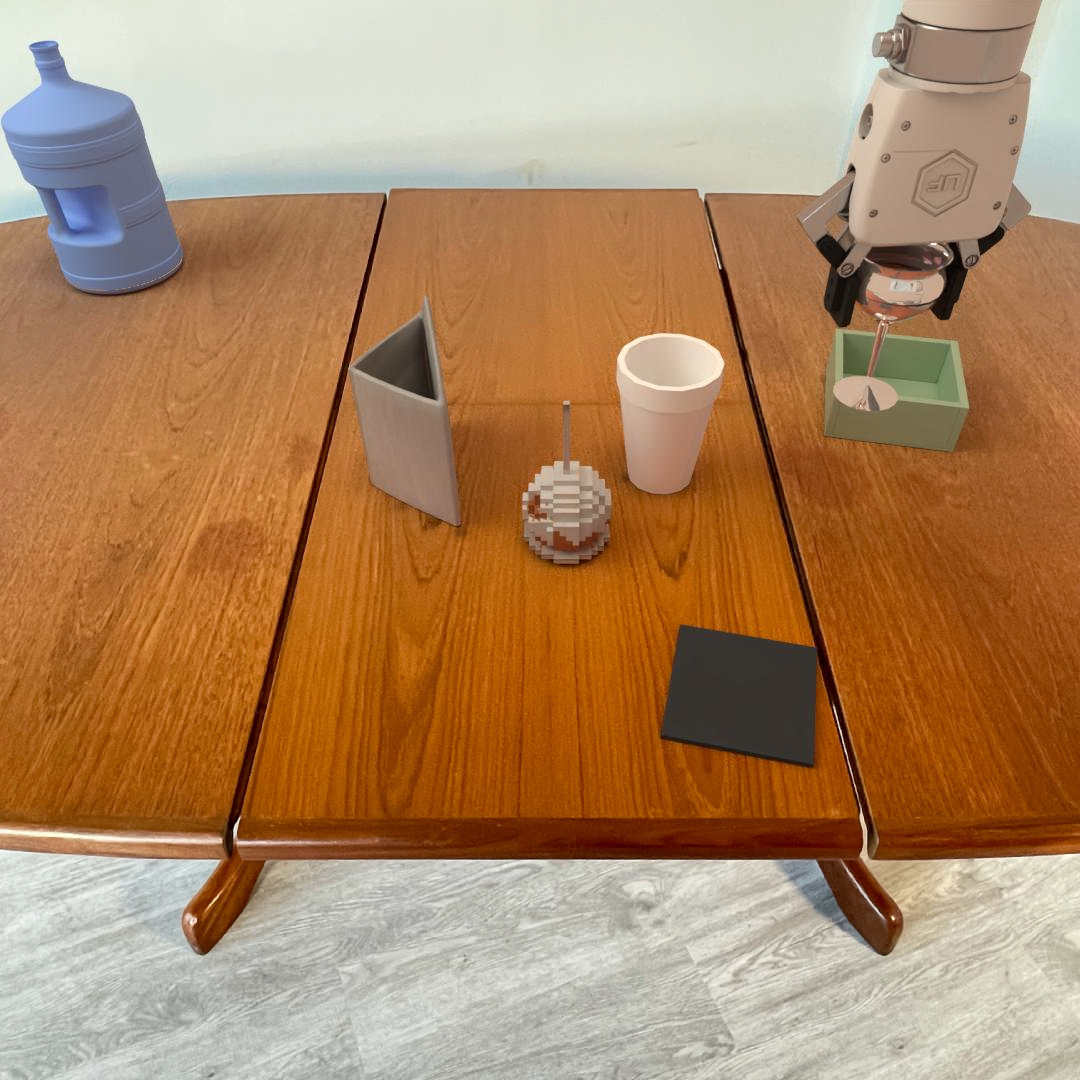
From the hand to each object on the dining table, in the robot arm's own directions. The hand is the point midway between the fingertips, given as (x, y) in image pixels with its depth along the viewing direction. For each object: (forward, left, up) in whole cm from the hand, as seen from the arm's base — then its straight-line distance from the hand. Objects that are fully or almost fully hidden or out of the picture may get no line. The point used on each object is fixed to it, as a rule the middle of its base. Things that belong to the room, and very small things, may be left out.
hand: (886, 313), depth 65 cm
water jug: (+94, -33, -22) cm, 102 cm away
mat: (+6, +20, -22) cm, 31 cm away
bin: (-6, -21, -22) cm, 31 cm away
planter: (+40, +1, -22) cm, 46 cm away
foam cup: (+16, -5, -22) cm, 28 cm away
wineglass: (0, 0, -7) cm, 7 cm away
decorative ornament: (+23, +6, -23) cm, 33 cm away
